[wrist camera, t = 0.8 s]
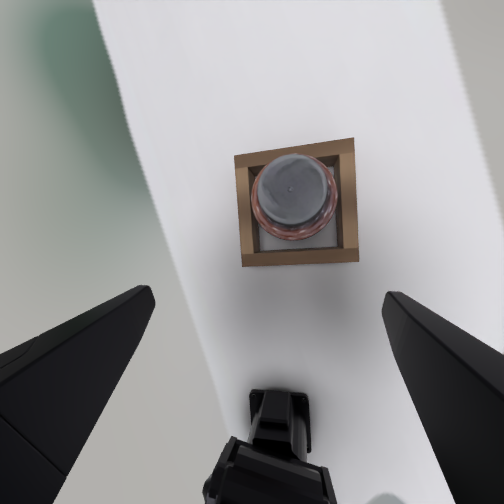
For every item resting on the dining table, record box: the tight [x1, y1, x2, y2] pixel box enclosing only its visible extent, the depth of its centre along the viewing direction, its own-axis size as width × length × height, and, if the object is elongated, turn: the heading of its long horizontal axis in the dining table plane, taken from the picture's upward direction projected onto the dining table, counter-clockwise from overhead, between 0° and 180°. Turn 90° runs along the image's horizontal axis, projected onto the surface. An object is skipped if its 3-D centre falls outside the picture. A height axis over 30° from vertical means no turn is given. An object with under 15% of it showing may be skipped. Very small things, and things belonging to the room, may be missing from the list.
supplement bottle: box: [251, 153, 337, 240], centre depth 19 cm, size 6×6×11 cm
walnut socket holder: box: [234, 138, 359, 267], centre depth 22 cm, size 10×10×4 cm
